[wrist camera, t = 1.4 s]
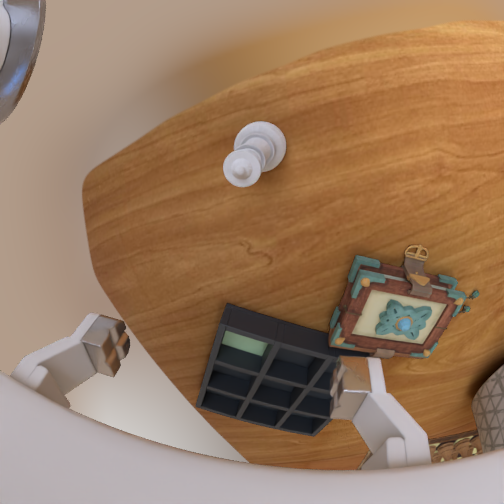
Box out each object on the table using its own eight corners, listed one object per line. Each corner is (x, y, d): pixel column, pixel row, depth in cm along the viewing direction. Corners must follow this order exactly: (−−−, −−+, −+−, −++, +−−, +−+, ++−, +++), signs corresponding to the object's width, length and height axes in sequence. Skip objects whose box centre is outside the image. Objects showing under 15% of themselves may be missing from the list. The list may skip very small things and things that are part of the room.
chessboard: (528, 413, 41) (539, 445, 32) (457, 479, 63) (459, 503, 54) (372, 445, 49) (373, 489, 40) (336, 497, 70) (335, 524, 61)
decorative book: (443, 347, 34) (453, 374, 29) (324, 329, 35) (325, 361, 30) (492, 264, 27) (511, 289, 23) (361, 229, 28) (371, 254, 24)
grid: (201, 389, 45) (195, 406, 42) (226, 302, 35) (219, 323, 32) (315, 419, 45) (314, 436, 42) (377, 346, 35) (381, 367, 32)
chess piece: (236, 167, 27) (203, 205, 19) (236, 120, 25) (201, 135, 16) (285, 170, 27) (275, 210, 18) (287, 122, 24) (278, 136, 16)
